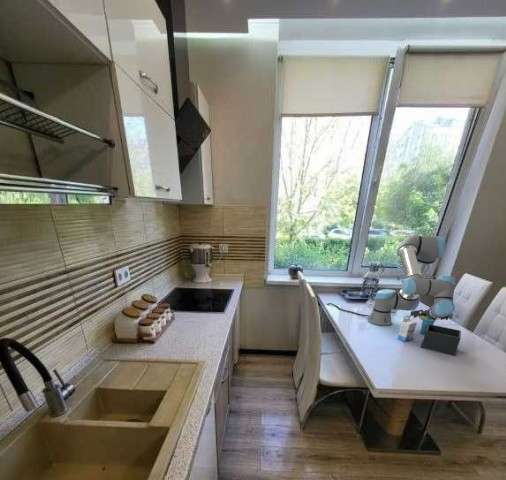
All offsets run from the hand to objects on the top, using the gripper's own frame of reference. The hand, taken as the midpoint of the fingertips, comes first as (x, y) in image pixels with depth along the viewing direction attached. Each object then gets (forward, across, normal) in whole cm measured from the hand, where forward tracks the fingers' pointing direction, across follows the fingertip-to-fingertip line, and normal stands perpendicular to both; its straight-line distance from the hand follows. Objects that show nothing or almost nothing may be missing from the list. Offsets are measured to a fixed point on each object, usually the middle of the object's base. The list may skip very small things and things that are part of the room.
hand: (427, 316), depth 161 cm
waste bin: (+6, +8, -17) cm, 20 cm away
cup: (+24, +5, -8) cm, 26 cm away
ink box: (+10, -9, -14) cm, 20 cm away
